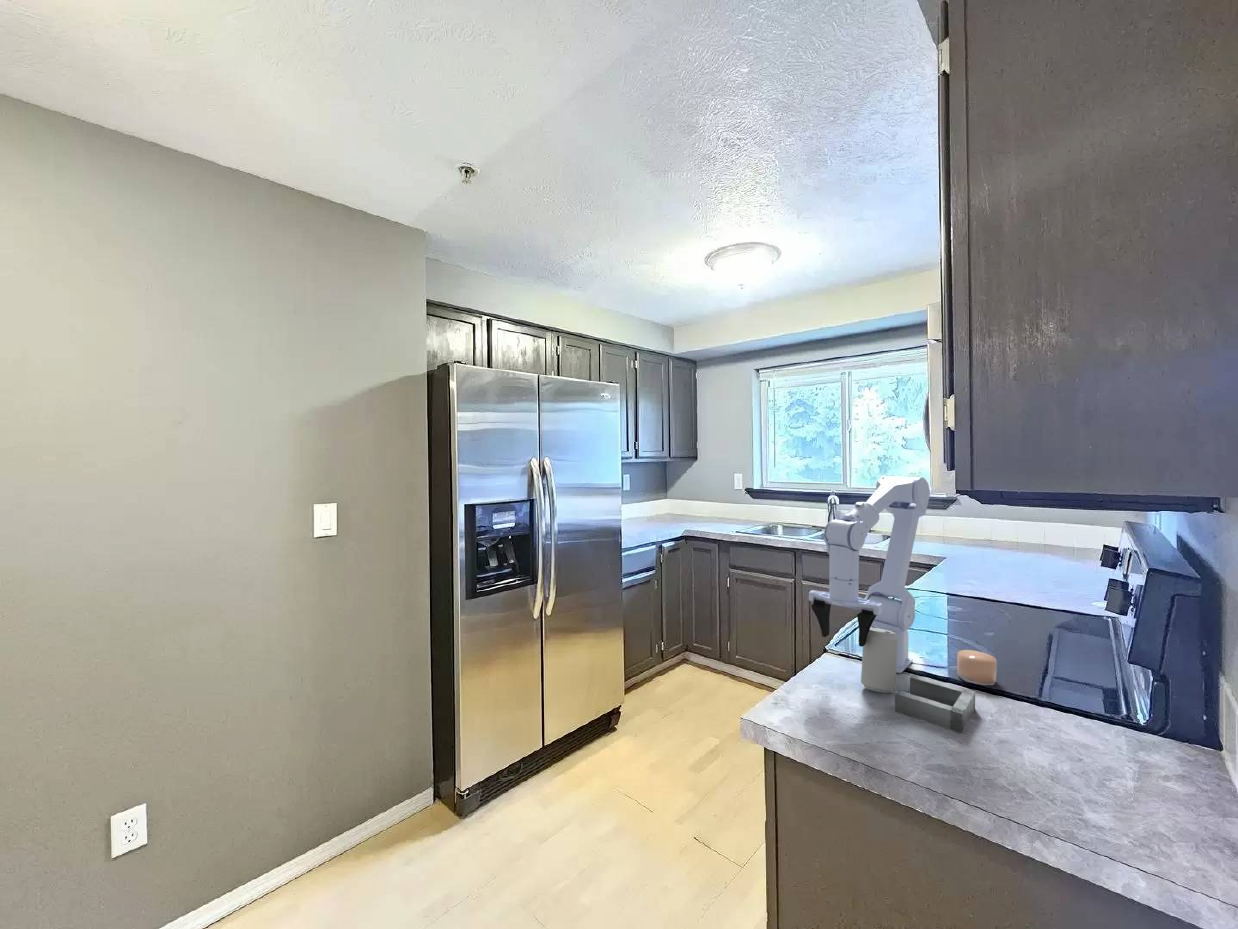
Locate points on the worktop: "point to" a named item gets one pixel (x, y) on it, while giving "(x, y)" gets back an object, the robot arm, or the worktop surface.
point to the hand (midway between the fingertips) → (843, 640)
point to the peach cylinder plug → (976, 666)
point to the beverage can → (879, 661)
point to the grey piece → (936, 703)
